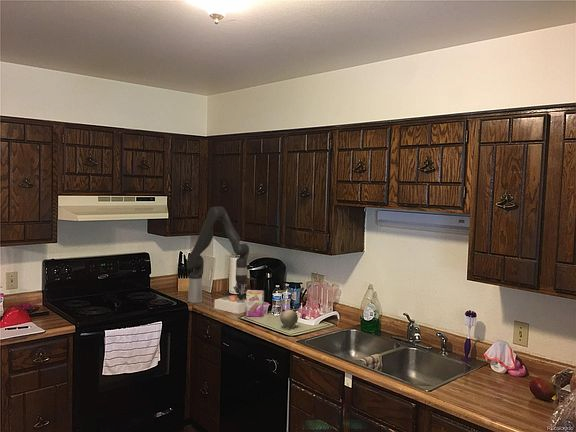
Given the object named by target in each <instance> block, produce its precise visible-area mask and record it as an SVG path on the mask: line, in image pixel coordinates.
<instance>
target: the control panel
mask: <svg viewBox="0 0 576 432" xmlns="http://www.w3.org/2000/svg"><path fill="white" fill-rule="evenodd" d="M230 296H231V295H229V296H228V297H230ZM237 300H239V297H237ZM243 300H245V303H237V301H235V302H232V301H230V299H229V300H223V299H222V297H221V298H216V299H214V309H215V310H220V311H225V312H229V313H233V314H241V313H246V298H245V299H244V298H243Z"/></svg>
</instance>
